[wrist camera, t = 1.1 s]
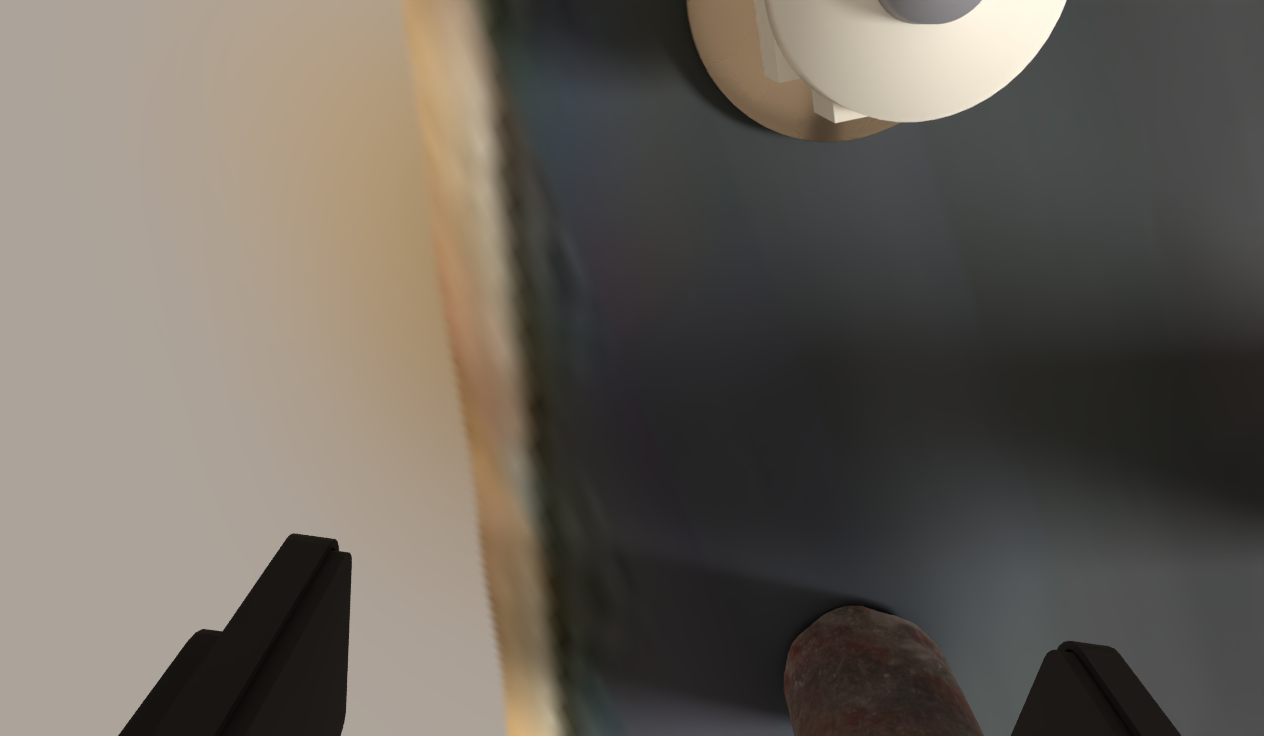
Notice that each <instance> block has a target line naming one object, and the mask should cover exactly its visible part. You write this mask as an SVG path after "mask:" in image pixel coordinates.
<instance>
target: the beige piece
mask: <svg viewBox="0 0 1264 736" xmlns="http://www.w3.org/2000/svg"><path fill="white" fill-rule="evenodd" d="M686 8H687V17H688V22H689V26H690V30H691V35H692V39H693V41H694V44H695V47H696V49H697V52H698V55H699V57H700V59H701V61H702V63H703V65H704V67H705V69H706V71H707V72H708V74H709V76H710V77H711V78H712V80H713V81H714V83H715V84H716V85H717V87H718V88H719V90H720V91H721V92H722V93H723V94H724V95H725V96H726V97H727V98H728V99H729V100H730V101H731V102H732V103H733V104H734V105H735V106H736V107H737V108H738V109H740V110H741V111H742V112H743V113H745V114H746V115H747V116H748V117H750V118H751V119H753V120H755V121H756V122H758V123H759V124H761V125H763V126H764V127H766V128H769V129H771V130H773V131H776V132H778V133H780V134H783V135H787V136H790V137H794V138H798V139H802V140H810V141H818V142H838V141H845V140H852V139H858V138H862V137H865V136H869V135H873V134H876V133H878V132H881V131H883V130H886V129H888V128H891V127H893V126H895V125H897V124H898V123H900V122H894V121H886V120H880V119H876V118H872V117H869V116H868V117H863V118H858V119H853V120H849V121H844V122H839V123H834V122H832V121H830V120H828V119H826V118H824V117H822V116H820V115H818V114H817V113H815V112H814V106H813V98H812V90H811V87H809V86H808V85H807V84H806V83H805V82H804V81H802V79H797V80H792V81H787V82H782V83H778V82H776V81H774V80H771V79H769V78H767V77H765V76H764V69H763V62H762V54H761V47H760V40H759V33H758V26H757V19H756V12H755V4H754V0H686Z"/></svg>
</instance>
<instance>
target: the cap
mask: <svg viewBox="0 0 1264 736" xmlns="http://www.w3.org/2000/svg"><path fill="white" fill-rule="evenodd" d="M1065 3H1066V0H754V4H755V12H756V19H757V26H758V33H759V40H760V47H761V54H762V62H763V69H764V76H765V77H767V78H769V79H771V80H774V81H776V82H778V83H782V82H787V81H792V80H797V79H802V81H804V82H805V83H806V84H807V85H808V86H809V87H811V90H812V98H813V106H814V112H815V113H817V114H818V115H820V116H822V117H824V118H826V119H828V120H830V121H832V122H834V123H839V122H844V121H849V120H853V119H858V118H863V117H868V116H869V117H872V118H876V119H880V120H886V121H894V122H920V121H927V120H935V119H939V118H942V117H946V116H950V115H953V114H956V113H958V112H961V111H963V110H966V109H968V108H971V107H973V106H975V105H976V104H978V103H980V102H982V101H984V100H985V99H987V98H989V97H991V96H992V95H993V94H995V93H996V92H997V91H999V90H1000V89H1002V88H1003V87H1004V86H1006V85H1007V84H1008V83H1009V82H1010V81H1011V80H1013V79H1014V78H1015V77H1016V76H1017V75H1018V74H1019V73H1020V72H1021V71H1022V70H1023V69H1024V68H1025V67H1026V66H1027V65H1028V63H1029V62H1030V61H1031V60H1032V59H1033V58H1034V57H1035V56H1036V54H1037V53H1038V51H1039V50H1040V49H1041V47H1042V46H1043V44H1044V43H1045V41H1046V40H1047V39H1048V37H1049V35H1050V34H1051V32H1052V30H1053V28H1054V26H1055V25H1056V23H1057V21H1058V19H1059V17H1060V15H1061V12H1062V10H1063V7H1064V5H1065Z"/></svg>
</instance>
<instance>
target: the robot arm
mask: <svg viewBox="0 0 1264 736" xmlns="http://www.w3.org/2000/svg"><path fill="white" fill-rule="evenodd" d="M351 569H352V557H351V554H350V553H348V552H341V551H339V546H338V542H337V540H335V539H330V538H323V537H316V536H308V535H301V534H291V535H289V537H288V538H287V539H286V540H285V542H284V543H283V545H282V546H281V547H280V549H279V551H278V552H277V553H276V555H275V556H274V558H273V559H272V561H271V562H270V563H269V565H268V566H267V568H266V569H265V571H264V572H263V574H262V575H261V577H260V578H259V579H258V581H257V582H256V584H255V585H254V587H253V588H252V590H251V591H250V593H249V594H248V596H247V597H246V598H245V600H244V601H243V603H242V604H241V606H240V607H239V608H238V610H237V612H236V613H235V614H234V616H233V617H232V619H231V620H230V622H229V623H228V624H227V626H226V627H225V629H224V630H223V632H222V631H214V630H206V629H202V630H200V631H198V632H196V633H195V634H194V635H193V636H192V637H191V638H190V639H189V640H188V642H187V643H186V644H185V646H184V647H183V648H182V650H181V651H180V652H179V654H178V655H177V657H176V658H175V659H174V661H173V662H172V663H171V665H170V666H169V667H168V669H167V670H166V672H165V673H164V674H163V675H162V677H161V678H160V680H159V681H158V682H157V684H156V685H155V687H154V688H153V689H152V690H151V692H150V693H149V695H148V696H147V697H146V699H145V700H144V701H143V703H142V704H141V706H140V707H139V708H138V710H137V711H136V712H135V714H134V715H133V716H132V718H131V719H130V720H129V722H128V723H127V724H126V726H125V727H124V729H123V730H122V731H121V733H120V734H119V735H118V736H341V732H342V729H343V724H344V720H345V714H346V696H347V671H348V646H349V619H350V594H351V593H350V592H351ZM1011 736H1181V735H1180V733H1179V732H1178V731H1177V729H1176V728H1175V727H1174V725H1173V724H1172V723H1171V721H1170V720H1169V719H1168V717H1167V716H1166V715H1165V713H1164V712H1163V711H1162V710H1161V708H1160V707H1159V706H1158V704H1157V703H1156V702H1155V700H1154V699H1153V698H1152V696H1151V695H1150V694H1149V692H1148V691H1147V690H1146V688H1145V687H1144V686H1143V684H1142V683H1141V682H1140V680H1139V679H1138V678H1137V676H1136V675H1135V674H1134V672H1133V671H1132V670H1131V668H1130V667H1129V666H1128V664H1127V663H1126V662H1125V661H1124V659H1123V658H1122V657H1121V655H1120V654H1119V653H1118V652H1117V651H1116V650H1115V649H1114V648H1111V647H1109V646H1103V645H1096V644H1089V643H1081V642H1074V641H1066V642H1063V643H1062V644H1061V645H1060V646H1059V647H1058V649H1057V650H1051V651H1050V652H1048V653H1047V654H1046V656H1045V658H1044V660H1043V662H1042V665H1041V667H1040V669H1039V672H1038V674H1037V676H1036V679H1035V681H1034V683H1033V686H1032V688H1031V690H1030V693H1029V695H1028V697H1027V699H1026V702H1025V704H1024V706H1023V709H1022V711H1021V713H1020V716H1019V718H1018V720H1017V723H1016V725H1015V727H1014V730H1013V732H1012V734H1011Z"/></svg>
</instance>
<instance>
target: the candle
mask: <svg viewBox="0 0 1264 736" xmlns="http://www.w3.org/2000/svg"><path fill="white" fill-rule="evenodd" d="M784 694H785V698H786V702H787V706H788V710H789V714H790V719H791V723H792V727H793V731H794V735H795V736H984V735H983V733H982V731H981V729H980V727H979V724H978V722H977V720H976V718H975V716H974V714H973V712H972V710H971V708H970V706H969V704H968V702H967V700H966V698H965V696H964V694H963V692H962V690H961V688H960V686H959V685H958V683H957V681H956V679H955V677H954V675H953V673H952V671H951V669H950V667H949V665H948V663H947V661H946V659H945V657H944V656H943V654H942V652H941V650H940V648H939V647H938V646H937V645H936V644H935V643H934V642H933V640H932V639H931V638H930V637H929V636H928V635H927V634H926V633H925V632H924V631H923V630H921V629H920V628H919V627H918V626H917V625H915V624H914V623H913V622H910V621H908V620H905V619H902V618H899V617H897V616H895V615H889V614H886V613H883V612H878V611H876V610H873V609H869V608H866V607H864V606H844V607H841V608H837V609H834V610H832V611H830V612H828V613H826V614H824V615H823V616H821V617H820V618H819V619H817V620H816V621H815V622H814V623H813V624H812V625H811V626H810V627H809V628H807V629H806V630H804V631H803V632H802V633H801V634H800V635H799V636H798V637H797V638H796V639H795V640H794V642H793V643H792V644H791V648H790V650H789V652H788V656H787V662H786V668H785V672H784Z"/></svg>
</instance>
